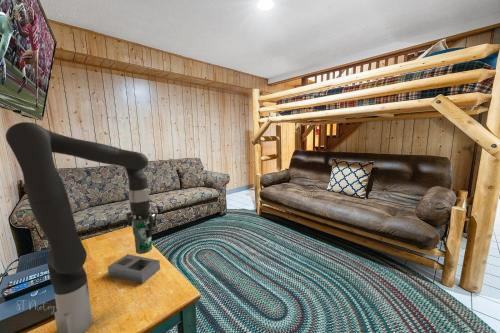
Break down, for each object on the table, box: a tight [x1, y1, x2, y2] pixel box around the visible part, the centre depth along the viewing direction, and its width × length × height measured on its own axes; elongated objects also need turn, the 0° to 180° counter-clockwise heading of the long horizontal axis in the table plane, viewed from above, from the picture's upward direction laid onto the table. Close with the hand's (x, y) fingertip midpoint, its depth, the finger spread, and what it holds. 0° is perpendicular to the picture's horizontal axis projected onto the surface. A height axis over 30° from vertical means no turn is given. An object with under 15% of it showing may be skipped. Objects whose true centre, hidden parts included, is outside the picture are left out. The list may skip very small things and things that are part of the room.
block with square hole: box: [107, 253, 161, 285], centre depth 110 cm, size 12×22×5 cm, turn 72°
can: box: [133, 218, 153, 255], centre depth 92 cm, size 6×6×15 cm
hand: (142, 236), depth 92 cm, fingers closed on can, 6 cm apart
